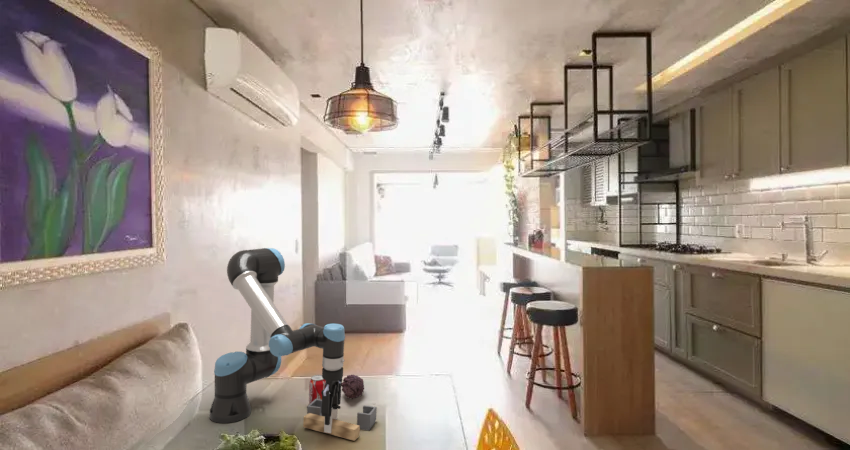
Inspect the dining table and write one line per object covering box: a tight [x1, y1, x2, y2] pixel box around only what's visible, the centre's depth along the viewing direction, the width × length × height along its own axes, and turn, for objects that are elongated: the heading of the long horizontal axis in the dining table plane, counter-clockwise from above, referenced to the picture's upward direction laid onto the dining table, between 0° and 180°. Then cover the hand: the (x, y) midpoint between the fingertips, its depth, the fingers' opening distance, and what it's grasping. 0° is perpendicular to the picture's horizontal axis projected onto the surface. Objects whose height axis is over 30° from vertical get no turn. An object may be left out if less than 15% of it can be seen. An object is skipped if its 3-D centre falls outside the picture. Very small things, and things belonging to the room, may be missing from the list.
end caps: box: [306, 399, 377, 431], centre depth 185 cm, size 26×7×6 cm, turn 77°
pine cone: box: [341, 374, 365, 400], centre depth 207 cm, size 18×10×10 cm, turn 179°
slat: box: [302, 413, 361, 442], centre depth 176 cm, size 22×4×4 cm, turn 68°
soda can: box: [308, 374, 326, 405], centre depth 198 cm, size 7×7×12 cm
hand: (330, 429), depth 176 cm, fingers open, 4 cm apart
